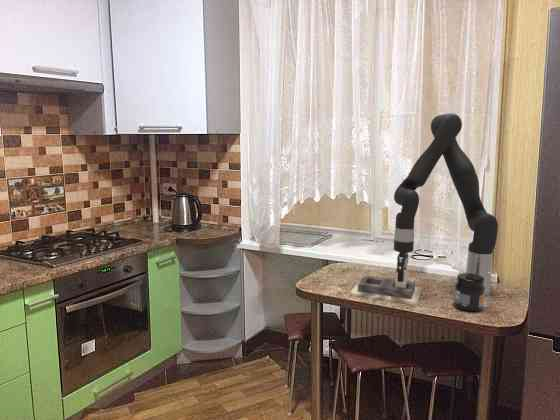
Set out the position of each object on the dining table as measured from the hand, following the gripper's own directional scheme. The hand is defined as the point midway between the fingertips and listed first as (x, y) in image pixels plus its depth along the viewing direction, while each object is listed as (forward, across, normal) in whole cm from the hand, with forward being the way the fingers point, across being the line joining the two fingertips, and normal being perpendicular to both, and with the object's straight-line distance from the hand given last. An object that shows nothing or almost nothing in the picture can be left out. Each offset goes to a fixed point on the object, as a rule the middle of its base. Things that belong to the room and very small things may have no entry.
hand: (401, 278), depth 192 cm
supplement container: (+7, -3, -25) cm, 26 cm away
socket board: (+7, 0, +6) cm, 9 cm away
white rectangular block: (+6, 0, 0) cm, 6 cm away
